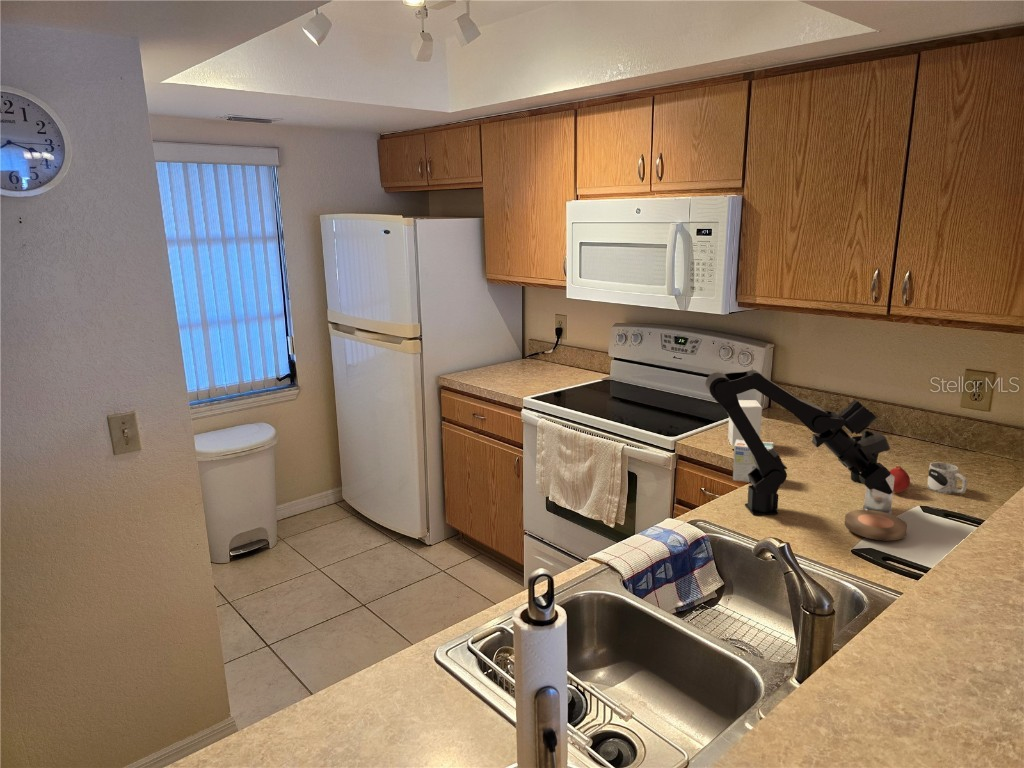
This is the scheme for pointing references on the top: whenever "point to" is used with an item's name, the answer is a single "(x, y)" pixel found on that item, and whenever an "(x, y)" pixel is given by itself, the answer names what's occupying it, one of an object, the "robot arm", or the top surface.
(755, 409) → the supplement box
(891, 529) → the turntable
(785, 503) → the top surface
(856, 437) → the cup
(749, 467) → the light bulb box
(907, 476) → the onion
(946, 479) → the mug
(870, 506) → the canister
